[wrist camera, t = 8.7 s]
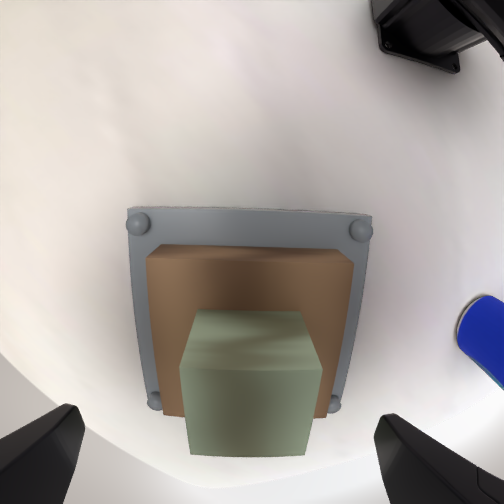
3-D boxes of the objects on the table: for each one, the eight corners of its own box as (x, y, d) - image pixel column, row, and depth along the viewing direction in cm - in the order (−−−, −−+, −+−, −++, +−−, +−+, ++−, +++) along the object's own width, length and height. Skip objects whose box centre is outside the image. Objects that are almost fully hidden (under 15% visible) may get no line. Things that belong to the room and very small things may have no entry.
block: (299, 311, 15) (322, 369, 10) (290, 389, 16) (304, 455, 11) (197, 308, 15) (179, 367, 10) (201, 388, 16) (190, 454, 11)
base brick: (337, 249, 17) (354, 263, 15) (317, 389, 20) (326, 417, 17) (160, 244, 17) (145, 257, 14) (172, 386, 20) (163, 415, 17)
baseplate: (365, 214, 18) (377, 218, 16) (335, 399, 21) (341, 414, 20) (133, 206, 18) (122, 210, 16) (151, 395, 21) (146, 411, 19)
